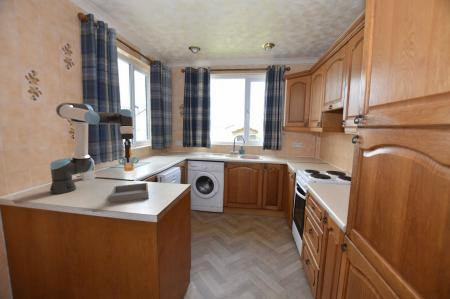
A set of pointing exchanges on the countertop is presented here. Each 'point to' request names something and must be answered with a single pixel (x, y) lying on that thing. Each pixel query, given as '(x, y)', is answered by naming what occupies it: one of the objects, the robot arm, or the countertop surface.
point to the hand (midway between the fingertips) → (129, 165)
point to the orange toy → (130, 161)
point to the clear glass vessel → (88, 174)
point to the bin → (129, 193)
